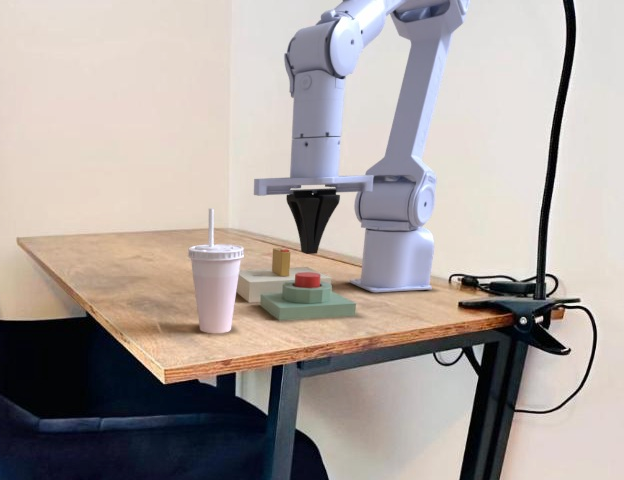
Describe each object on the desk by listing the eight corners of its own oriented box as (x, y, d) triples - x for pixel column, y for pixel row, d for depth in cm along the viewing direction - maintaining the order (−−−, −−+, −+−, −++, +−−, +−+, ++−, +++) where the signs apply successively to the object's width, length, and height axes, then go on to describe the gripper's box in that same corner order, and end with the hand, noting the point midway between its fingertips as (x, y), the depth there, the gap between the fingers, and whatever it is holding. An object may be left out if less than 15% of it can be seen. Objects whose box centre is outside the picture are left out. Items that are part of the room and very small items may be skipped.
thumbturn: (271, 271, 84) (272, 246, 82) (280, 271, 84) (281, 246, 83) (280, 276, 80) (282, 250, 79) (289, 276, 80) (290, 250, 79)
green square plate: (329, 301, 77) (331, 277, 76) (355, 316, 70) (357, 289, 69) (260, 305, 76) (260, 280, 75) (279, 321, 69) (280, 293, 68)
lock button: (313, 284, 74) (314, 271, 73) (323, 289, 71) (324, 276, 70) (290, 285, 73) (291, 272, 73) (299, 290, 70) (300, 277, 70)
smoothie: (190, 321, 69) (189, 207, 65) (241, 322, 69) (244, 205, 64) (187, 336, 63) (185, 211, 59) (243, 337, 63) (246, 210, 58)
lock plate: (306, 285, 88) (307, 265, 87) (330, 298, 79) (331, 276, 78) (233, 289, 86) (233, 269, 85) (249, 303, 78) (249, 280, 77)
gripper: (267, 138, 61) (263, 260, 66) (390, 135, 63) (378, 254, 67) (250, 141, 68) (247, 251, 72) (361, 138, 70) (352, 246, 74)
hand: (309, 252), depth 70 cm, fingers closed
